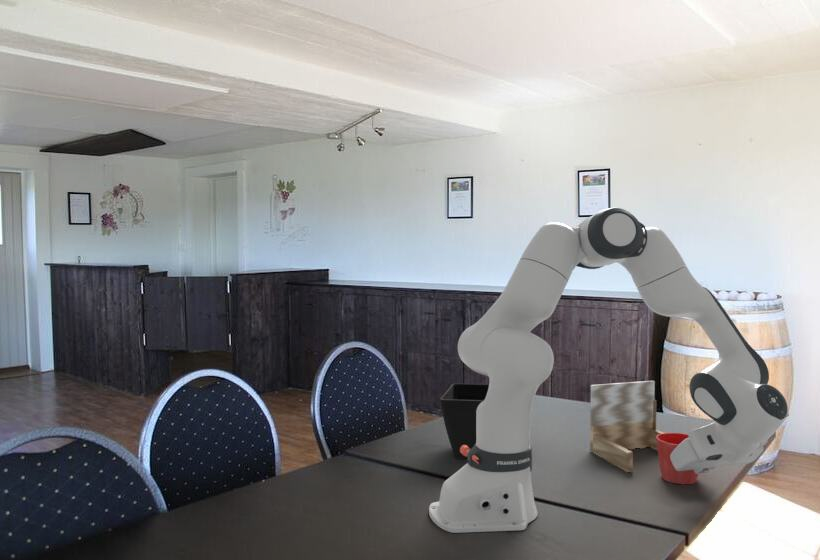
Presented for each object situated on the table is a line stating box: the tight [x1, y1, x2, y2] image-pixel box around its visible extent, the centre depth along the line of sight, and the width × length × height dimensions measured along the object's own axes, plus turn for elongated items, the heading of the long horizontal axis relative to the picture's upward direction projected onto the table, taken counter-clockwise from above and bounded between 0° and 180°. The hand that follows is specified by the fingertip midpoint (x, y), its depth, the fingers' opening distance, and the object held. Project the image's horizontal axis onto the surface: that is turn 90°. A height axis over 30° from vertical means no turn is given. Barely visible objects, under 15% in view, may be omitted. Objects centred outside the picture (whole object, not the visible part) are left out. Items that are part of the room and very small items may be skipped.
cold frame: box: [589, 380, 665, 473], centre depth 177 cm, size 19×18×18 cm
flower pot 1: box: [439, 383, 489, 461], centre depth 182 cm, size 19×19×17 cm
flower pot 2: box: [656, 432, 699, 485], centre depth 162 cm, size 11×11×10 cm
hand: (699, 470), depth 156 cm, fingers closed
